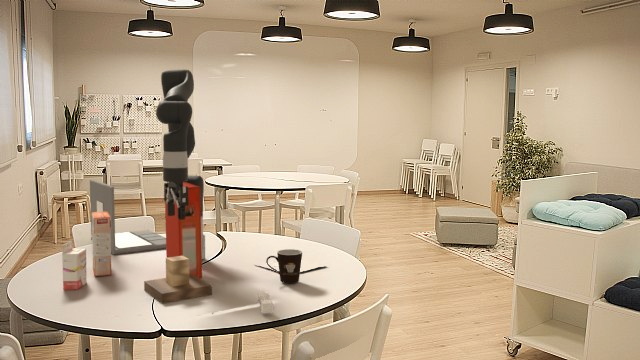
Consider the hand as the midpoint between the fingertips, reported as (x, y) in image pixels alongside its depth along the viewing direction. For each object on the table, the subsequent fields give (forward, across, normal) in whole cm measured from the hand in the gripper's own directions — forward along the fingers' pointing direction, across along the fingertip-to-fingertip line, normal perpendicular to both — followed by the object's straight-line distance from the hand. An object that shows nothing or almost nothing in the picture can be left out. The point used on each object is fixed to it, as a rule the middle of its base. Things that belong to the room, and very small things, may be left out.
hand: (176, 217), depth 174 cm
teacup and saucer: (+25, +9, -49) cm, 56 cm away
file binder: (+24, +20, -10) cm, 33 cm away
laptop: (+25, +78, -10) cm, 83 cm away
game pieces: (+24, -27, -16) cm, 40 cm away
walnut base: (+24, 0, 0) cm, 24 cm away
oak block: (+21, 0, 0) cm, 21 cm away
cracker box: (+24, +39, +13) cm, 48 cm away
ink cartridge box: (+24, +25, +25) cm, 43 cm away
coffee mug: (+24, -7, -36) cm, 44 cm away
